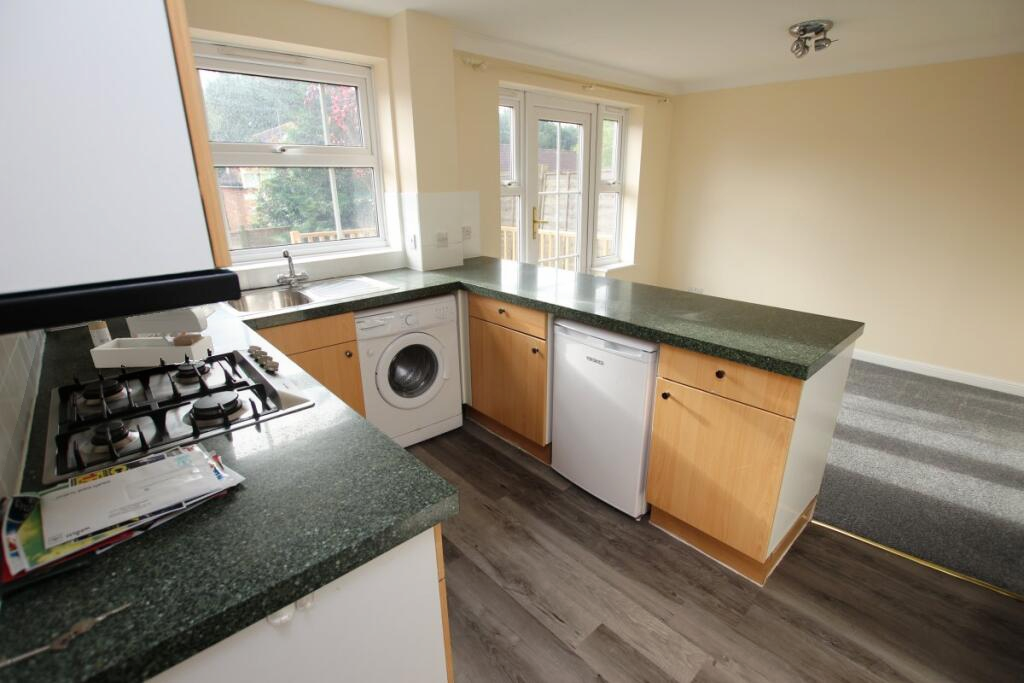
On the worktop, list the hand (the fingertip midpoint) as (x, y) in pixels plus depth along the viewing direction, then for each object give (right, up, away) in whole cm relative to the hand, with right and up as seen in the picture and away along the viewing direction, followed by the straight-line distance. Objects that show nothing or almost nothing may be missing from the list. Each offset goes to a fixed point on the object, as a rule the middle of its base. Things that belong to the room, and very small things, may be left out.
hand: (174, 346), depth 140 cm
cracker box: (-19, +2, +20) cm, 28 cm away
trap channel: (-6, -4, +1) cm, 7 cm away
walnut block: (+4, -1, +1) cm, 4 cm away
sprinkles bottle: (-26, -3, +7) cm, 27 cm away
